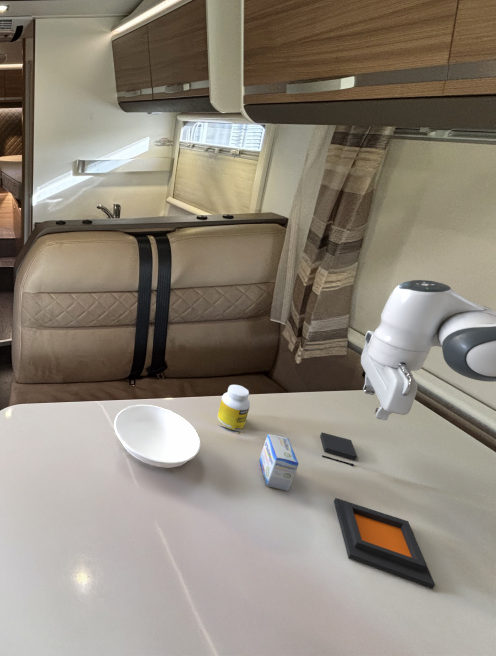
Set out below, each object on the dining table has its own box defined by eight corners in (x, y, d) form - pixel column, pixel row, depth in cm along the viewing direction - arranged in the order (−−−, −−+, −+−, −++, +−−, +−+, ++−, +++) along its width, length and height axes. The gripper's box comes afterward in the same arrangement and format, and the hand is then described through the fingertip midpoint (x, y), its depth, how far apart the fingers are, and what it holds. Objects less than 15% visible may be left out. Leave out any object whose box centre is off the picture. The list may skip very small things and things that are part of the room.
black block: (347, 449, 106) (351, 440, 105) (353, 466, 101) (357, 456, 100) (318, 441, 109) (321, 431, 108) (322, 457, 104) (325, 447, 103)
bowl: (207, 488, 96) (212, 467, 94) (116, 478, 99) (119, 457, 97) (183, 427, 114) (187, 408, 112) (107, 419, 117) (109, 401, 115)
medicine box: (258, 460, 103) (266, 432, 100) (279, 465, 102) (288, 437, 99) (266, 486, 96) (275, 457, 93) (289, 492, 95) (299, 462, 92)
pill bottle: (229, 436, 111) (238, 400, 106) (210, 419, 117) (218, 384, 112) (249, 431, 112) (259, 395, 108) (230, 415, 118) (238, 380, 114)
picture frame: (406, 525, 87) (411, 515, 86) (432, 589, 76) (438, 579, 75) (333, 501, 93) (337, 492, 92) (348, 558, 81) (352, 548, 80)
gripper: (435, 383, 80) (408, 439, 86) (399, 334, 97) (378, 383, 102) (392, 374, 83) (368, 429, 88) (364, 327, 100) (345, 376, 105)
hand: (373, 404), depth 95 cm, fingers open, 8 cm apart
